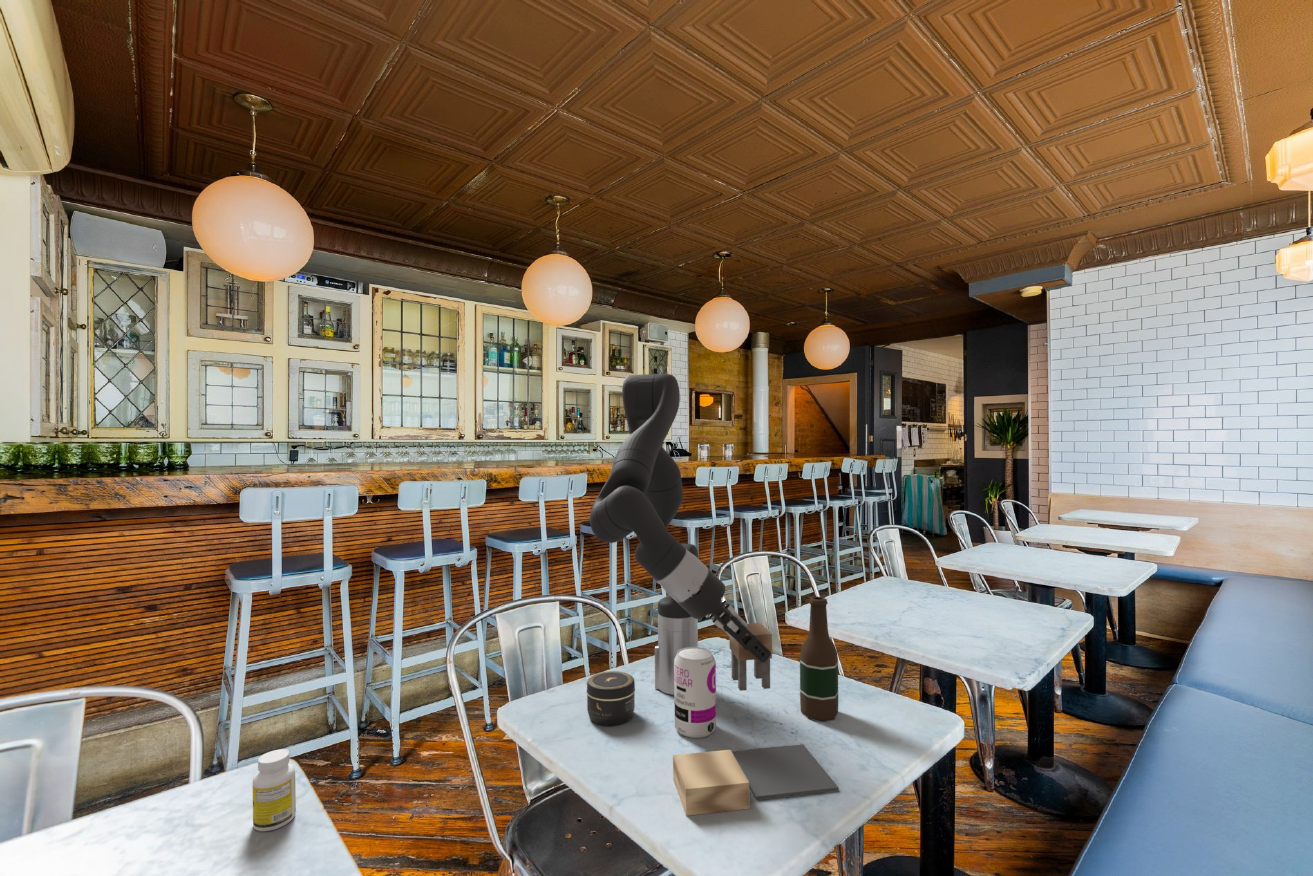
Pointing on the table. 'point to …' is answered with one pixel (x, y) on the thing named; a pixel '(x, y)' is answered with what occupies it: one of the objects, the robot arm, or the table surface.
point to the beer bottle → (819, 667)
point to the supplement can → (695, 692)
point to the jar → (610, 698)
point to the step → (710, 782)
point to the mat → (783, 772)
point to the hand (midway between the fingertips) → (760, 650)
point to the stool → (751, 658)
